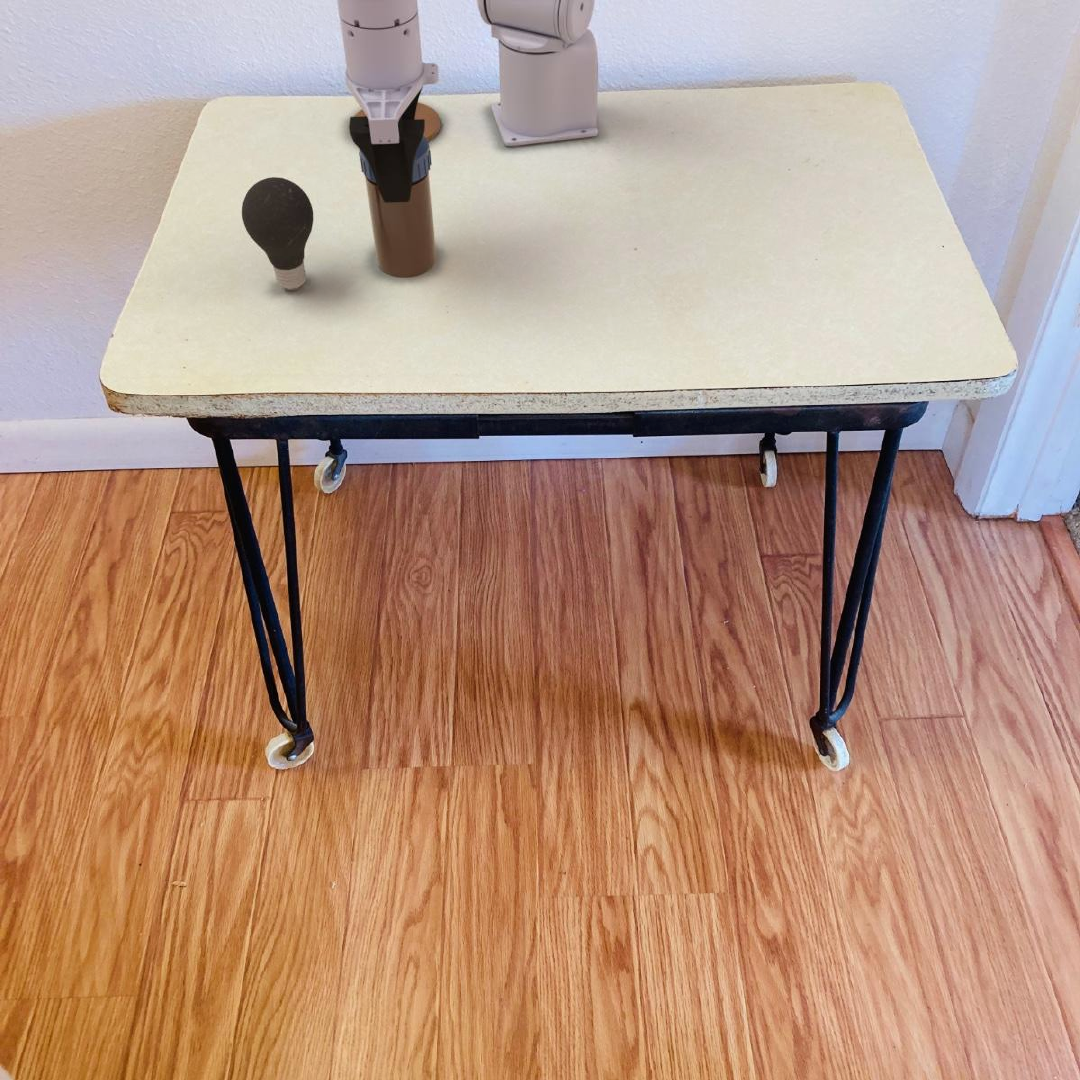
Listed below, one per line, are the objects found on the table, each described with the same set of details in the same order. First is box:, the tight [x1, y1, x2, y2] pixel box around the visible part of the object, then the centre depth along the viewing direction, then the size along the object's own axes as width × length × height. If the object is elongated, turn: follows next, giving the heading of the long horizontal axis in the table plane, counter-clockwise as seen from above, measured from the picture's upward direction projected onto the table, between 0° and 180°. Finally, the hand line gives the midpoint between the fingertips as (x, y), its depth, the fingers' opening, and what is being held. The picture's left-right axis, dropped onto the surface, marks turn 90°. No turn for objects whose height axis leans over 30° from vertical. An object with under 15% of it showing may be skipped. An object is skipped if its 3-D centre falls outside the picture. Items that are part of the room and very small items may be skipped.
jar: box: [364, 171, 437, 278], centre depth 91 cm, size 5×5×10 cm
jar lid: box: [358, 136, 433, 183], centre depth 88 cm, size 6×6×2 cm
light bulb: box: [241, 176, 314, 291], centre depth 89 cm, size 6×6×10 cm
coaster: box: [353, 101, 442, 142], centre depth 110 cm, size 9×9×1 cm
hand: (397, 179), depth 89 cm, fingers closed on jar lid, 5 cm apart
